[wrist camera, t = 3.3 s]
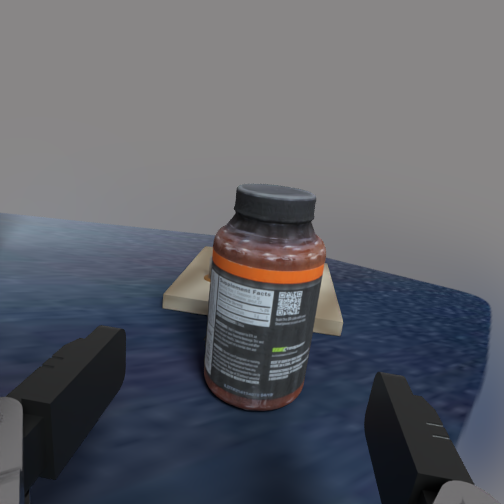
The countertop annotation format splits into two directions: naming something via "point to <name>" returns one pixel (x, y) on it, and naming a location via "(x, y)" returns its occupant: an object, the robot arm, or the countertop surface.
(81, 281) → the countertop surface
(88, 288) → the countertop surface
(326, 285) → the pin board
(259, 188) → the supplement bottle
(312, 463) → the countertop surface
